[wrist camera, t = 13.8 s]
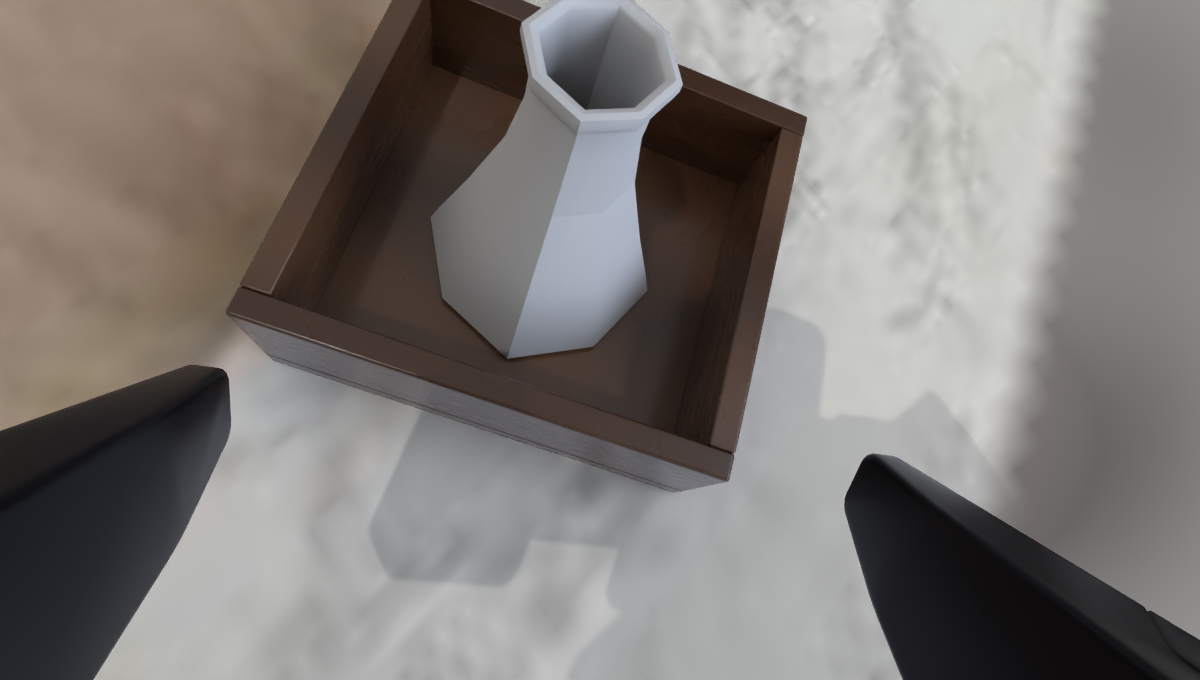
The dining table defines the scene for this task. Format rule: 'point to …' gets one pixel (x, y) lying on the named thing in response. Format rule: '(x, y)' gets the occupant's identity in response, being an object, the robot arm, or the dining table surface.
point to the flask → (561, 185)
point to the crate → (449, 342)
